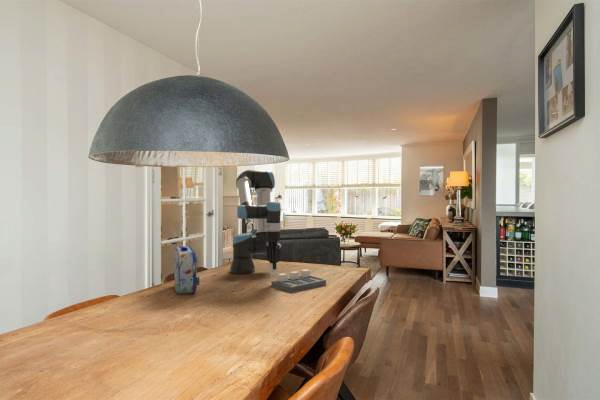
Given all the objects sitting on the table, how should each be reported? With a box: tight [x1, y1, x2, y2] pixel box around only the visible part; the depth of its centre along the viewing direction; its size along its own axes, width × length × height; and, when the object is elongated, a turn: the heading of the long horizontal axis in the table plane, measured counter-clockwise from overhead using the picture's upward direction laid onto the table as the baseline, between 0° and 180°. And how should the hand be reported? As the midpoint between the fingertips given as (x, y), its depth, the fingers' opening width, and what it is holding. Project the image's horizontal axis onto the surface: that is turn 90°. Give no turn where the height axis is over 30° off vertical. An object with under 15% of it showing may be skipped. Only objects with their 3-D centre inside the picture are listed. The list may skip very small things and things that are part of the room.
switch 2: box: [300, 268, 311, 277], centre depth 191 cm, size 3×4×4 cm
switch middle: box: [288, 271, 300, 280], centre depth 185 cm, size 3×4×4 cm
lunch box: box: [173, 245, 201, 295], centre depth 172 cm, size 28×10×22 cm, turn 25°
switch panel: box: [271, 275, 327, 293], centre depth 182 cm, size 16×24×3 cm, turn 131°
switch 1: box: [276, 272, 288, 282], centre depth 180 cm, size 3×4×4 cm
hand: (273, 275), depth 186 cm, fingers closed
